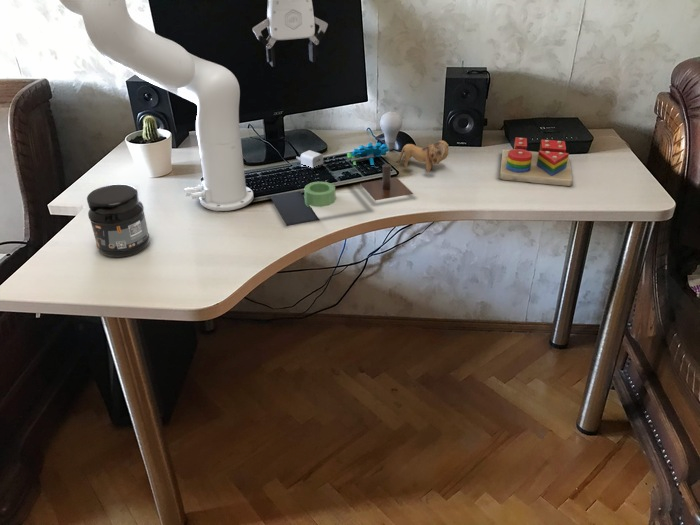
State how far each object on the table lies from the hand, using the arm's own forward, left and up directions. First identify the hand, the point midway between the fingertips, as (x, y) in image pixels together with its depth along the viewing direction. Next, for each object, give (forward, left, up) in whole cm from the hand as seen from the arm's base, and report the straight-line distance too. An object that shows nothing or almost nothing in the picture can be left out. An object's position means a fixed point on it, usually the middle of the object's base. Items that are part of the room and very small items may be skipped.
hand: (292, 63), depth 139 cm
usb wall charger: (+4, +4, -29) cm, 29 cm away
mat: (0, -18, -28) cm, 33 cm away
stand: (+17, -18, -28) cm, 37 cm away
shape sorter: (+59, -19, -29) cm, 68 cm away
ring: (0, -18, -28) cm, 33 cm away
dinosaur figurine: (+19, -1, -29) cm, 34 cm away
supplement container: (-44, -22, -29) cm, 57 cm away
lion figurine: (+31, -9, -29) cm, 43 cm away
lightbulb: (+29, +7, -29) cm, 41 cm away
